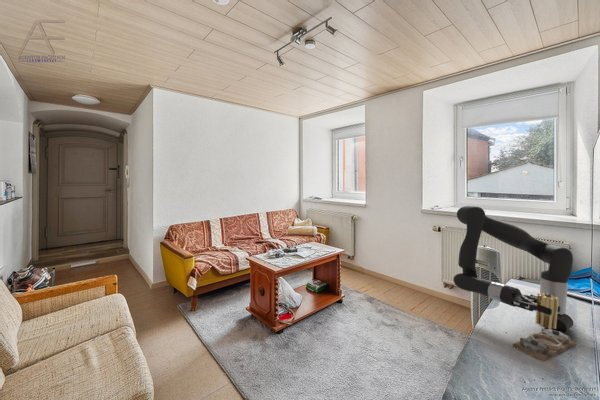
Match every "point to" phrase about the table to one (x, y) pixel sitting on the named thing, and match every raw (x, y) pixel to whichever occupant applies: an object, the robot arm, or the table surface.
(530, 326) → the table surface
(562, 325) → the end cap
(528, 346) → the gear board
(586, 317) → the table surface
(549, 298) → the pinion
